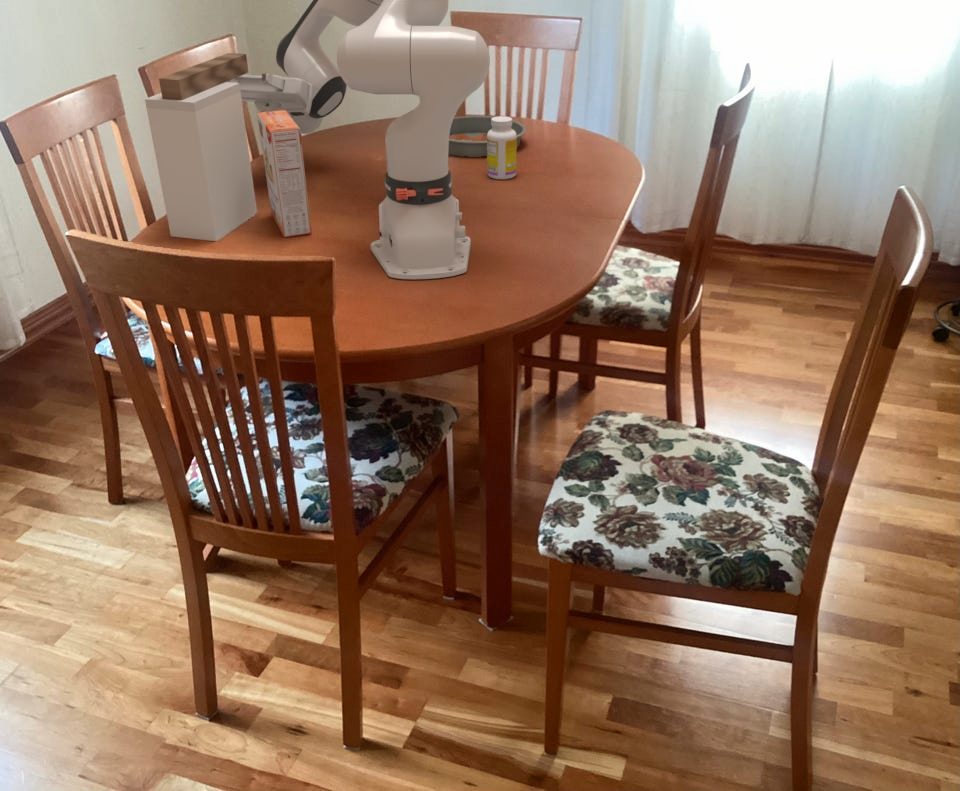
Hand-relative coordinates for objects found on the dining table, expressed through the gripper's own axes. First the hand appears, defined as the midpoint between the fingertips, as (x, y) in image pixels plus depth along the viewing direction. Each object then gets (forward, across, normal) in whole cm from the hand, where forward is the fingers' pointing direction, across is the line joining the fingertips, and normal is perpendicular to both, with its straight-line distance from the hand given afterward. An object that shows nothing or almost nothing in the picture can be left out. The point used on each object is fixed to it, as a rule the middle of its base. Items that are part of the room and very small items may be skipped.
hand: (243, 75), depth 186 cm
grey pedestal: (+3, 0, +31) cm, 31 cm away
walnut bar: (+12, 0, +6) cm, 13 cm away
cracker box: (0, +14, +29) cm, 32 cm away
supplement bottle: (-36, +47, +8) cm, 60 cm away
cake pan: (-56, +34, -3) cm, 66 cm away
